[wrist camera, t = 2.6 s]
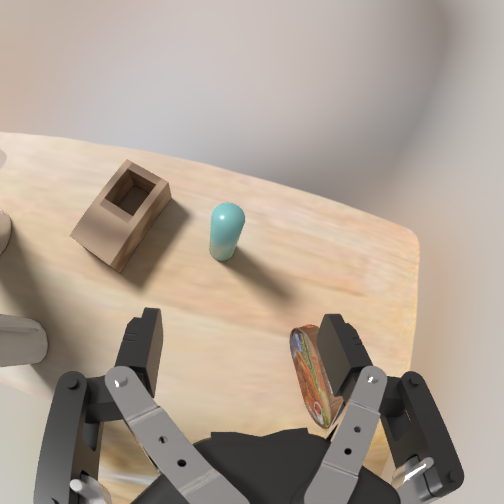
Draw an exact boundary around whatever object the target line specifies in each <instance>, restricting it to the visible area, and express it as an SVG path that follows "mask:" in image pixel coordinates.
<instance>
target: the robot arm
mask: <svg viewBox="0 0 504 504" xmlns="http://www.w3.org/2000/svg"><path fill="white" fill-rule="evenodd" d="M10 235H11V220H10V218H9V216H8V214H7V213H5V212H4V211H3V210H2V209H1V208H0V254H2V252H3V251H4V250H5V248H6V246H7V244H8V242H9V239H10ZM316 344H317V348H318V351H319V354H320V357H321V360H322V363H323V365H324V368H325V371H326V374H327V377H328V380H329V383H330V386H331V389H332V392H333V395H334V397H339V396H342V397H343V401H342V403H341V405H340V407H339V409H338V411H337V414H336V416H335V418H334V420H333V422H332V424H331V426H330V428H329V430H328V431H327V433H326V435H325V436H324V438H323V437H321V436H318V435H314V434H308V430H307V428H299V429H289V430H283V431H279V432H276V433H273V434H270V435H266V436H262V437H259V436H253V435H247V434H242V433H237V432H211V438H207V439H203V440H200V441H198V442H196V443H194V444H191V443H190V442H189V440H188V439H187V438H186V437H185V436H184V434H183V433H182V432H181V431H180V430H179V428H178V427H177V426H176V425H175V423H174V422H173V421H172V419H171V418H170V417H169V416H168V414H167V413H166V412H165V410H164V409H163V408H162V407H161V406H158V405H157V404H156V403H155V402H154V400H153V399H152V398H154V396H155V389H156V382H157V375H158V369H159V363H160V357H161V351H162V345H163V327H162V318H161V310H160V309H158V308H144V311H143V314H142V318H136V317H134V318H133V319H132V320H131V321H130V322H129V323H128V324H127V327H126V330H125V334H124V337H123V341H122V343H121V346H120V350H119V353H118V356H117V360H116V363H115V366H114V368H112V369H110V370H109V371H108V372H107V374H106V375H104V376H101V377H95V378H85V377H84V375H82V374H81V373H79V372H75V371H71V372H67V373H65V374H63V375H62V376H61V377H60V379H59V381H58V384H57V387H56V390H55V394H54V397H53V401H52V404H51V408H50V412H49V416H48V420H47V424H46V428H45V432H44V437H43V441H42V446H41V451H40V457H39V462H38V469H37V475H36V482H35V490H34V504H112V500H111V495H110V493H109V491H108V490H107V489H106V488H105V487H104V486H103V485H102V484H100V483H99V482H98V469H99V458H100V448H101V440H102V432H103V425H104V422H105V421H113V420H121V419H123V421H124V422H125V424H126V426H127V427H128V429H129V430H130V432H131V433H132V435H133V437H134V438H135V440H136V441H137V443H138V444H139V446H140V447H141V449H142V450H143V452H144V453H145V455H146V456H147V458H148V459H149V461H150V462H151V463H152V465H153V466H154V467H155V469H156V470H157V471H158V473H159V474H160V476H159V477H158V478H157V479H156V480H155V481H154V482H153V483H152V484H151V485H150V486H149V487H147V488H146V489H145V490H144V491H143V492H142V493H141V494H140V495H139V496H138V497H137V498H136V499H135V500H134V501H133V502H131V503H130V504H429V503H431V502H433V501H436V500H438V499H439V498H442V497H443V496H445V495H447V494H449V493H451V492H453V491H455V490H456V489H458V488H459V487H460V486H461V485H462V483H463V481H464V472H463V469H462V466H461V463H460V461H459V458H458V455H457V453H456V451H455V448H454V445H453V443H452V440H451V438H450V436H449V433H448V431H447V428H446V426H445V424H444V421H443V419H442V417H441V415H440V412H439V410H438V408H437V406H436V404H435V401H434V399H433V397H432V395H431V393H430V391H429V389H428V387H427V385H426V383H425V380H424V379H423V378H422V376H421V375H419V374H418V373H416V372H412V371H409V372H406V373H404V375H403V376H402V377H401V378H398V377H390V376H386V374H385V372H384V371H383V370H382V369H380V368H378V367H376V366H373V364H372V362H371V360H370V358H369V355H368V353H367V351H366V349H365V347H364V345H362V341H361V339H359V335H358V333H357V331H356V330H355V329H354V328H353V327H352V326H351V325H350V324H349V323H345V322H344V320H343V318H342V316H341V314H325V315H324V317H323V320H322V323H321V326H320V329H319V331H318V334H317V339H316ZM406 411H407V412H406ZM407 413H408V415H407ZM408 416H409V417H408ZM379 418H380V419H381V422H382V425H383V428H384V431H385V434H386V437H387V441H388V444H389V447H390V450H391V453H392V457H393V460H394V463H395V467H396V470H395V472H394V474H393V480H392V483H391V485H390V484H389V483H387V482H385V481H384V480H383V479H381V478H380V477H378V476H377V475H375V474H374V473H373V472H371V471H370V470H368V469H367V468H365V467H364V466H363V465H362V464H363V461H364V459H365V456H366V454H367V451H368V449H369V446H370V444H371V441H372V438H373V436H374V433H375V430H376V427H377V424H378V421H379ZM409 419H410V420H409ZM410 421H411V422H410Z"/></svg>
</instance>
